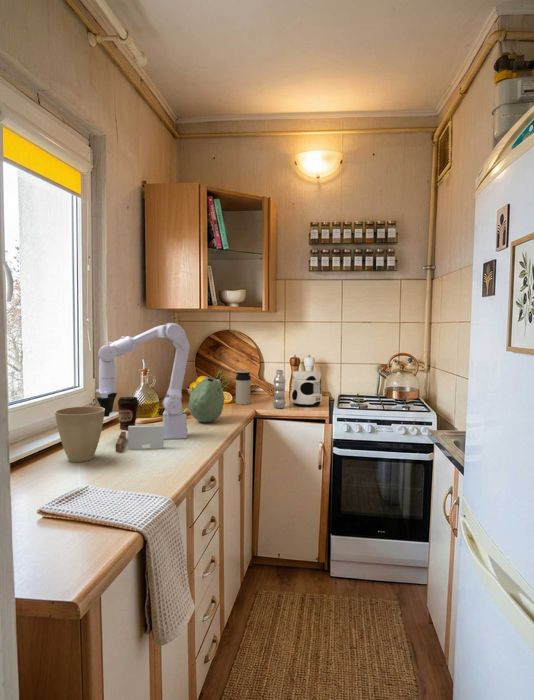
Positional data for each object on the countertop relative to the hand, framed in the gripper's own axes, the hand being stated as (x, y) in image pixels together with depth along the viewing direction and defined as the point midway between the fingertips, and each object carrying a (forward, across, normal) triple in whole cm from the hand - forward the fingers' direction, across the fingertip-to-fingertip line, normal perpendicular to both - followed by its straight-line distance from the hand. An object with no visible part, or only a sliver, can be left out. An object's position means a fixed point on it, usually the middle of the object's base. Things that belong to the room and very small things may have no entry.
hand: (107, 414), depth 175 cm
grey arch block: (+10, +12, +15) cm, 22 cm away
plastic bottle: (+11, -59, +78) cm, 98 cm away
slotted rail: (+10, +7, +6) cm, 14 cm away
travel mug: (+10, -74, +61) cm, 97 cm away
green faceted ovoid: (+10, -29, +38) cm, 49 cm away
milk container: (+11, -68, +95) cm, 117 cm away
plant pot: (+10, +22, -5) cm, 25 cm away
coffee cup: (+10, -20, +5) cm, 23 cm away
